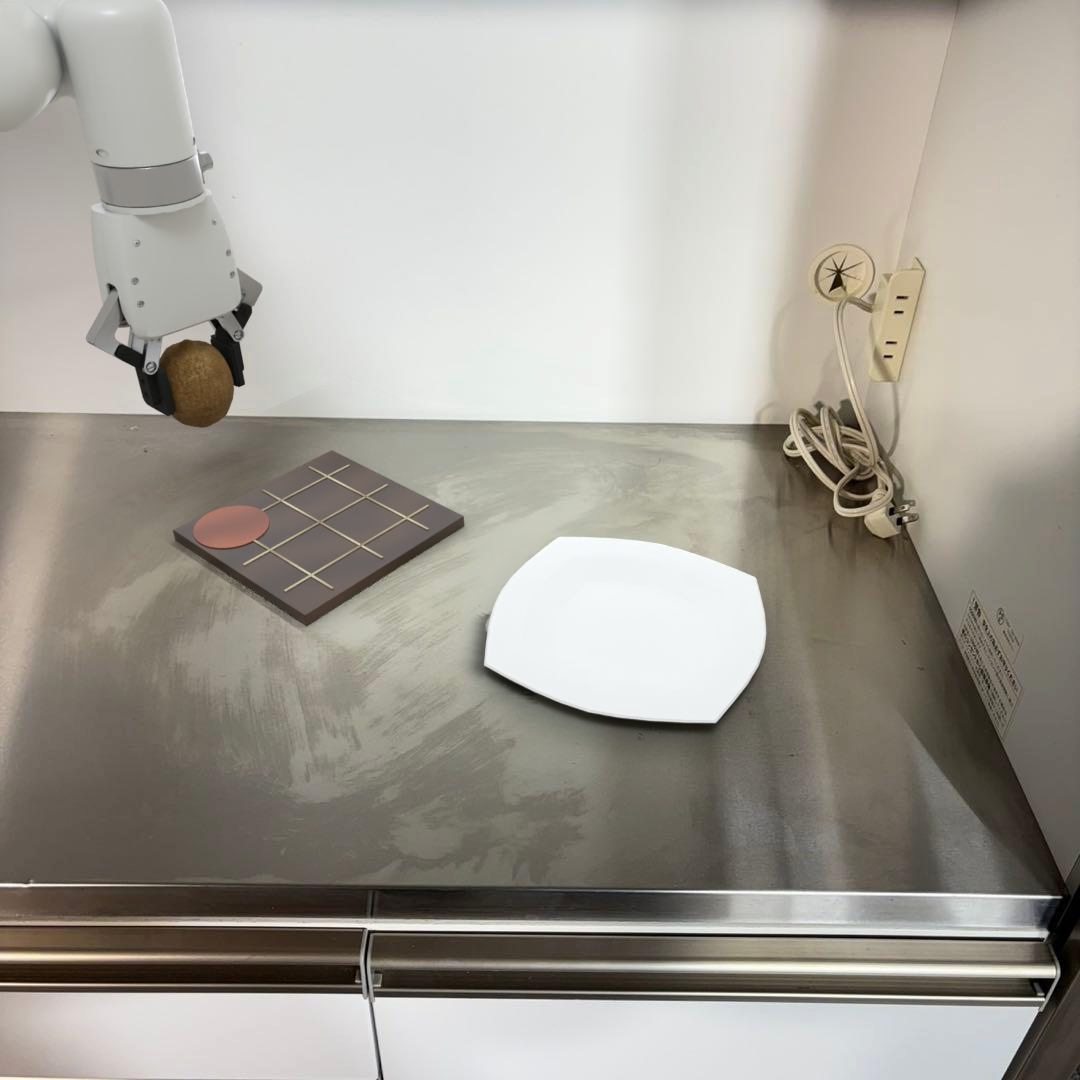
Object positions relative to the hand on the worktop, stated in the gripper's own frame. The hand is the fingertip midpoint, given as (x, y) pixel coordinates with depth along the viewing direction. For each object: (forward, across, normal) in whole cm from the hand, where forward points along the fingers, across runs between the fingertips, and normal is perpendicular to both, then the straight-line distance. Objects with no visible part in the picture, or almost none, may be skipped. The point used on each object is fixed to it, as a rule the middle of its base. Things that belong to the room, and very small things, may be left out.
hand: (197, 393), depth 83 cm
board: (+17, -8, +4) cm, 19 cm away
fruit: (+3, 0, 0) cm, 3 cm away
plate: (+17, -15, +36) cm, 42 cm away
